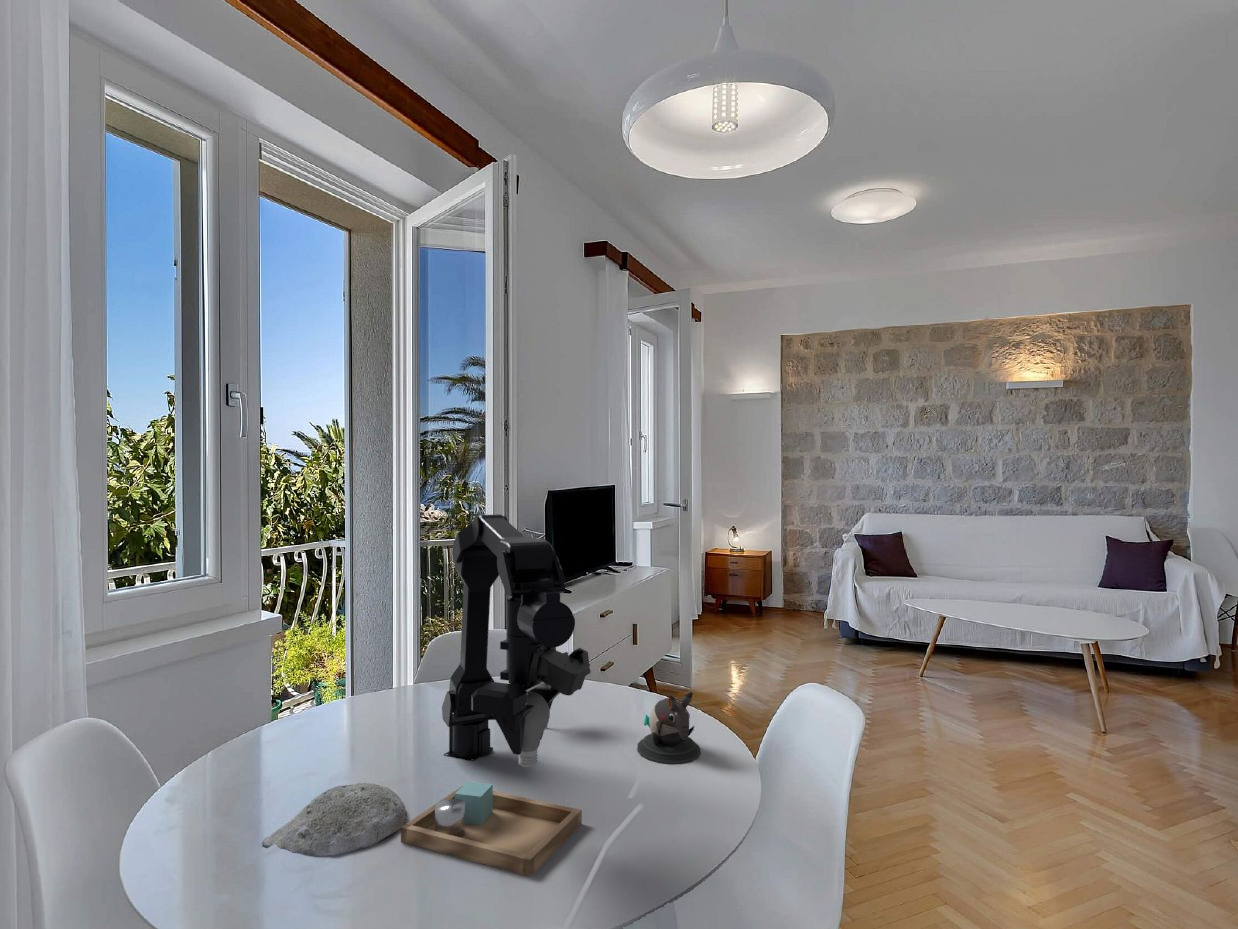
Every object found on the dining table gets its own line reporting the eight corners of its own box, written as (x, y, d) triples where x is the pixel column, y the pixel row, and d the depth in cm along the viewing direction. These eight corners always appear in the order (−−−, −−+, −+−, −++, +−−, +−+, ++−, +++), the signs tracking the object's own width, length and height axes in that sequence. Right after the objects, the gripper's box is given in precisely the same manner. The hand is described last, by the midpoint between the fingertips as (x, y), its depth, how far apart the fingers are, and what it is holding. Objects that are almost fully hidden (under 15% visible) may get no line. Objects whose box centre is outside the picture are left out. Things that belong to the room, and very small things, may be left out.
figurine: (679, 734, 133) (679, 673, 133) (713, 759, 123) (714, 693, 122) (626, 744, 128) (626, 681, 128) (657, 771, 118) (658, 702, 118)
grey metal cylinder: (428, 839, 94) (428, 809, 94) (447, 825, 97) (447, 796, 97) (452, 845, 92) (453, 815, 92) (470, 831, 96) (471, 802, 96)
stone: (362, 770, 110) (428, 766, 102) (368, 822, 108) (435, 822, 101) (253, 810, 95) (320, 809, 87) (258, 871, 93) (327, 874, 86)
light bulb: (542, 776, 92) (542, 700, 92) (499, 773, 93) (499, 697, 93) (555, 759, 98) (554, 687, 98) (514, 756, 99) (514, 685, 99)
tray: (400, 846, 93) (400, 827, 93) (464, 801, 106) (464, 784, 106) (529, 881, 85) (529, 860, 85) (581, 828, 98) (581, 810, 98)
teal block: (454, 822, 98) (454, 793, 98) (467, 809, 102) (467, 781, 102) (480, 825, 97) (480, 796, 97) (492, 812, 101) (492, 784, 101)
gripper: (546, 653, 84) (546, 783, 84) (607, 624, 101) (608, 732, 101) (469, 645, 89) (468, 769, 88) (540, 618, 106) (541, 722, 105)
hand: (527, 747), depth 96 cm, fingers closed on light bulb, 5 cm apart
